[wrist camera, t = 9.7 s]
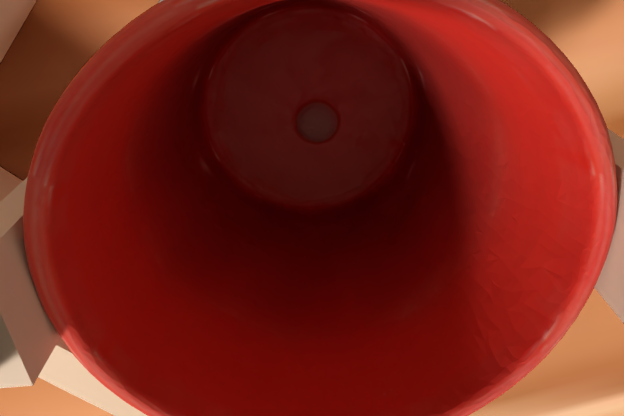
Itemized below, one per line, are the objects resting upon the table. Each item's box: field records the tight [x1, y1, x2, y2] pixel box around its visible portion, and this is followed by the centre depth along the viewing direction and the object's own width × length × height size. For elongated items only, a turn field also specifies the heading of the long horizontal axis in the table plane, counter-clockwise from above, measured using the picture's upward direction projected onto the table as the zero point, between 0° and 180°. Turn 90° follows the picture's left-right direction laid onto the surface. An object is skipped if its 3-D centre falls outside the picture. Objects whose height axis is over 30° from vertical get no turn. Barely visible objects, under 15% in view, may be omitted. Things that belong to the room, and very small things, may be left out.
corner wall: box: [0, 0, 147, 416], centre depth 16 cm, size 18×18×6 cm
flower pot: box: [23, 0, 617, 416], centre depth 14 cm, size 11×11×10 cm
